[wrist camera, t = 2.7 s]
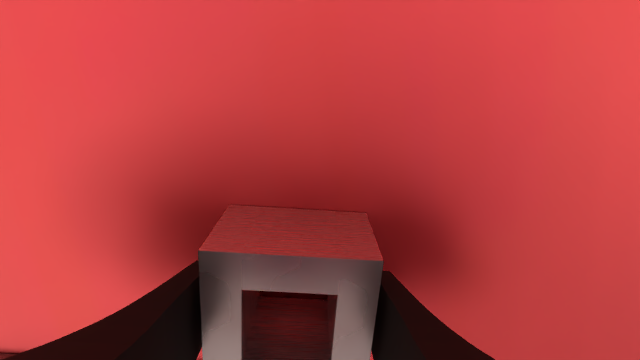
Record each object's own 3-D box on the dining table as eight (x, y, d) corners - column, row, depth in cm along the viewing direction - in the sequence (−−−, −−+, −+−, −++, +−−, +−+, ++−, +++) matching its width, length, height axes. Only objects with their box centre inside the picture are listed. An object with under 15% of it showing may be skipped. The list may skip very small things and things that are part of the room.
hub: (366, 212, 13) (383, 260, 9) (352, 325, 14) (364, 400, 11) (229, 204, 13) (198, 250, 9) (230, 318, 14) (204, 393, 11)
